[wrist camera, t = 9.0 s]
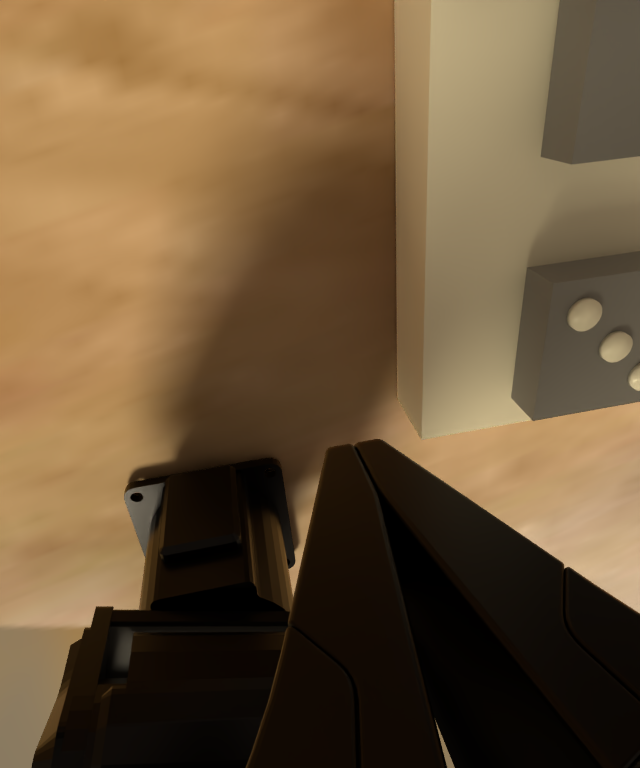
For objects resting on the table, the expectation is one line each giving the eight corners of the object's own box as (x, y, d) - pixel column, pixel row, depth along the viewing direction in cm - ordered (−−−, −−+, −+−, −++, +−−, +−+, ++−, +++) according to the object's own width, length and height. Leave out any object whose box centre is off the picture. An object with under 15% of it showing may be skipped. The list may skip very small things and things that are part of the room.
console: (635, 357, 24) (686, 391, 21) (397, 398, 23) (421, 439, 20) (884, -626, 11) (1078, -826, 9) (389, -659, 10) (451, -903, 8)
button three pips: (633, 376, 20) (668, 400, 18) (510, 397, 19) (535, 424, 18) (666, 247, 17) (709, 262, 16) (526, 267, 17) (557, 286, 15)
